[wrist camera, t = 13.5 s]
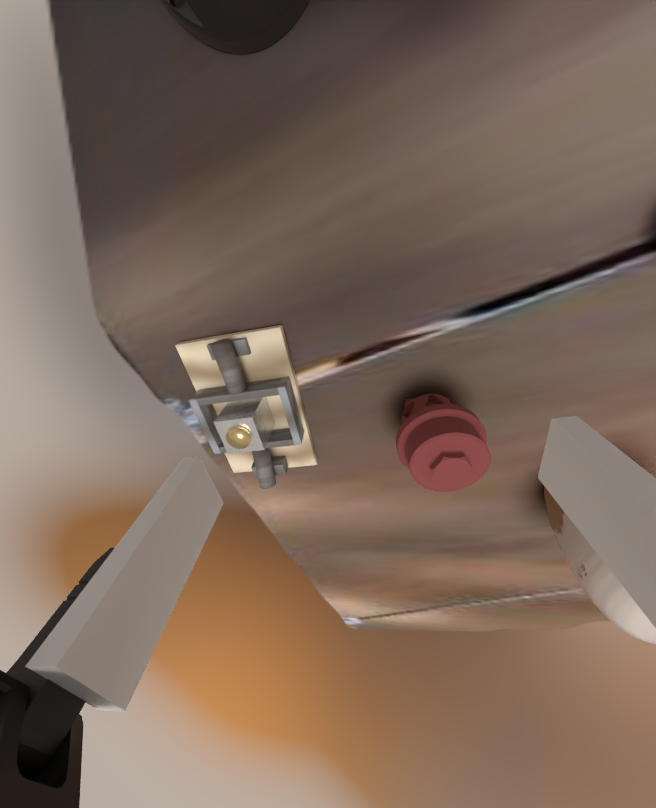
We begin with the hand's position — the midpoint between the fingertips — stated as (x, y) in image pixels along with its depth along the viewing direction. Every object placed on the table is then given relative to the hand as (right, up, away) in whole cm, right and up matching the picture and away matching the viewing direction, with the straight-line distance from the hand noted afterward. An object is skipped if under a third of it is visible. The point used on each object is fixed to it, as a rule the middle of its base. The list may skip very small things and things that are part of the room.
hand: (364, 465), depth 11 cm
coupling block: (-12, +1, +30) cm, 32 cm away
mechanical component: (+12, +2, +29) cm, 32 cm away
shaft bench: (-12, +2, +31) cm, 33 cm away
